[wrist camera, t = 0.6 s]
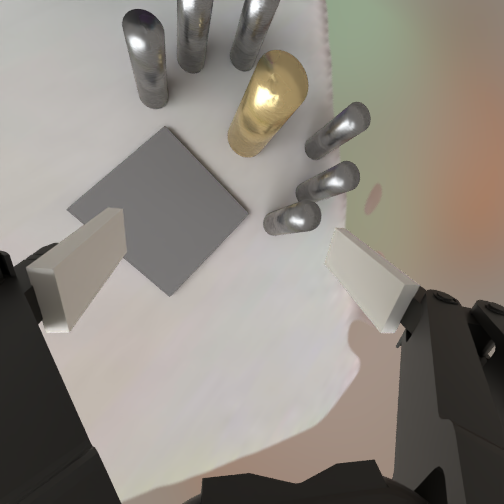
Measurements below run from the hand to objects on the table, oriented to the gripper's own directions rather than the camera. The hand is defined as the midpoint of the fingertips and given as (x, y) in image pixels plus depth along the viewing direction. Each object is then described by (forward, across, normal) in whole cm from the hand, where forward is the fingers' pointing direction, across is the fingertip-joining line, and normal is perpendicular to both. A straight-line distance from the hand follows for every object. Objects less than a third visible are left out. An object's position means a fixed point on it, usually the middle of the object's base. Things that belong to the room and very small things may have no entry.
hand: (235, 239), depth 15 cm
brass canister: (+26, +3, +5) cm, 26 cm away
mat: (+19, -7, -5) cm, 21 cm away
